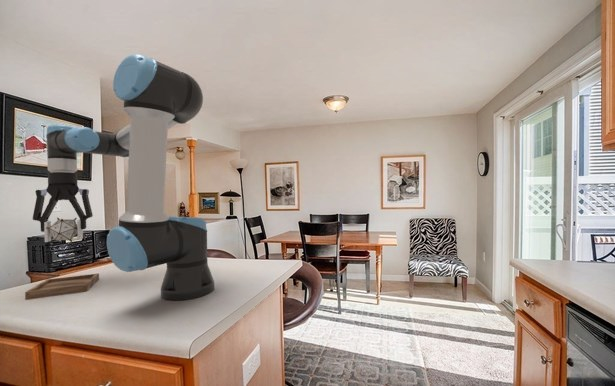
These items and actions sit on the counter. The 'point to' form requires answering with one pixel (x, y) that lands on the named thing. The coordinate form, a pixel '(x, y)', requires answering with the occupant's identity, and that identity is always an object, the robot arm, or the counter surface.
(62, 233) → the game die
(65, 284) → the walnut tray
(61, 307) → the counter surface
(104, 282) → the counter surface
